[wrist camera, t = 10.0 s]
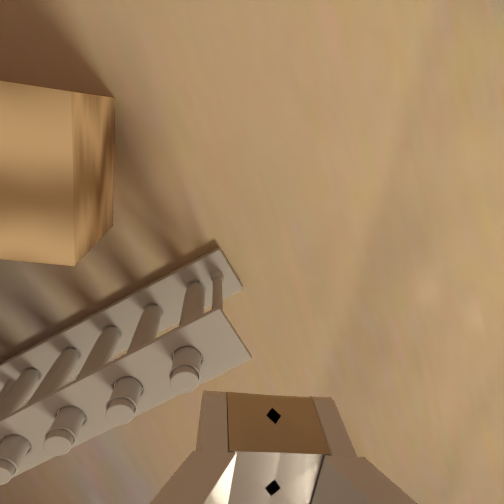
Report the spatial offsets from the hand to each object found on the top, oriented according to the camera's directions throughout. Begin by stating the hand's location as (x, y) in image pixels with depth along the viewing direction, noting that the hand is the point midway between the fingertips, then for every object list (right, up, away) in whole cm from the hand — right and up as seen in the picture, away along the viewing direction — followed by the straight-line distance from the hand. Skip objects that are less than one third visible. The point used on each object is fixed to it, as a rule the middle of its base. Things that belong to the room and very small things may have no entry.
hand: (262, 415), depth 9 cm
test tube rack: (-13, -3, +26) cm, 30 cm away
